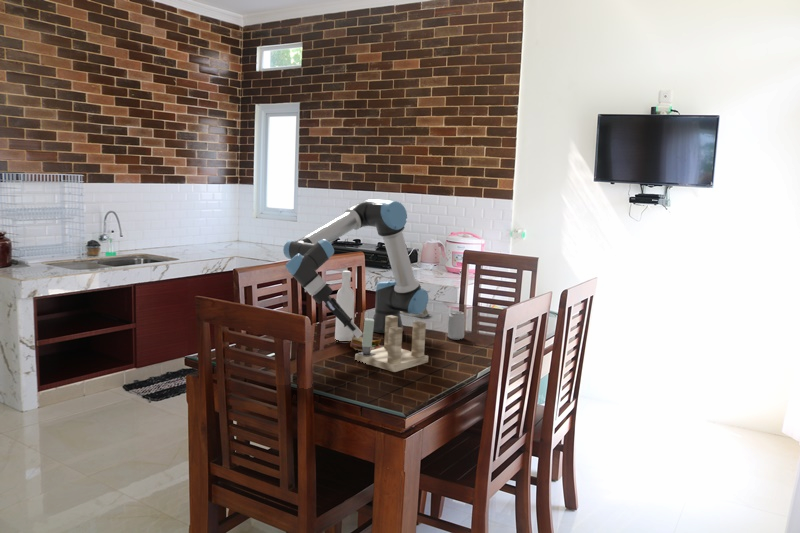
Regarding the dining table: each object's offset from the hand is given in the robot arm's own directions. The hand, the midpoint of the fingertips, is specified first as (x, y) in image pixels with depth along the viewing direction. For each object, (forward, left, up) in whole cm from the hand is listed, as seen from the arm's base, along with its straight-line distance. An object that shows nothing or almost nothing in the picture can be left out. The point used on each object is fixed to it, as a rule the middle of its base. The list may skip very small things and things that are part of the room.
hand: (360, 335), depth 244 cm
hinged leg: (+2, +2, -7) cm, 7 cm away
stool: (+9, +9, -10) cm, 16 cm away
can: (+3, +60, -10) cm, 61 cm away
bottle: (-26, +18, -10) cm, 34 cm away
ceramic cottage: (-44, +87, -10) cm, 98 cm away
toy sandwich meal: (-10, +15, -10) cm, 21 cm away
